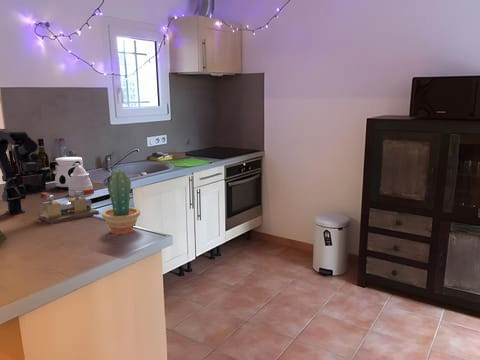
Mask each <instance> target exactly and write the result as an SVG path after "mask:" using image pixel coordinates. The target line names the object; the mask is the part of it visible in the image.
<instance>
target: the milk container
mask: <svg viewBox="0 0 480 360" xmlns="http://www.w3.org/2000/svg"><path fill="white" fill-rule="evenodd" d="M54 163H55V178H54V181H55V182H54V183H55V185H56V187H57V188H60V189H69V187H68V186H69V183H70V180H71V176H70V175H71V174H73V171H74V169H75V168H76V166H75V164H77V163H78V164H79V165H80V166H82V167H83V168H84V164H83V163H84V162H83V158H82V157H80V156H64V157H56V158H55V162H54Z"/></svg>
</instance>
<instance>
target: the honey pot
mask: <svg viewBox="0 0 480 360" xmlns="http://www.w3.org/2000/svg"><path fill="white" fill-rule="evenodd" d="M75 166H76V168H75V169H74V171H73V174H71V175H70V176H71V180H70V183H69V186H68V187H69V188H68V196H69V197H71V198H75V196H74V191H81V190H85V189H91V188H92V189H94V187H93V183H92V182H91V178H90V177H89V175H90V173H89V172H87V171H86V169H85V168H84V166H83V167H82V166H80V165H79V164H78V163H77V164H75ZM92 195H93V194H89V195H80V196H79V197H82V198H84V197H87V196H88V197H89V196H92Z"/></svg>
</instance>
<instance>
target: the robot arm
mask: <svg viewBox="0 0 480 360" xmlns="http://www.w3.org/2000/svg"><path fill="white" fill-rule="evenodd" d="M9 145H11V146H13V147H14V148H13V149H12V153H13V154H14V157H15V161H16V164H15V165H16V166H17V170H18V173H16V172H15V171H14V168H13V166H12V163H11V161H10V158H9V155H8V148H9ZM38 147H39V146H38V144H37V142H36V141H34V140H33V139H32V138H31V137H30V136H29V134H28V133H27V132H26V131H24V130H23V131H22V130H21V131H12V130H9V129H7V128H0V172H1V174H2V175H1V179H2V182H4V187H3V192H2V194H1V198H2V201H3V202H5V203H6V204H7V210H6V211H5V213H6V214H8V215H9V216H10V215H16V214H21V213H22V214H23V213H26V211H25V210H24V209H23V203H22V200H26V198H27V189H26V187H25V185H24V184H23V182H24V181H23V180H22V179H21V178H24V177H31V176H38V177H37V180H38V183H39V187H40V191H41V192H44V190H45V182H46V179H47V177H49V175H50V174H52V170H51V168H50V167H49V166H48V167H43V162H42V160H41V159H36V160H34V161H33V158H31V155H32V154H34V153H36V151H37V150H38Z"/></svg>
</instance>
